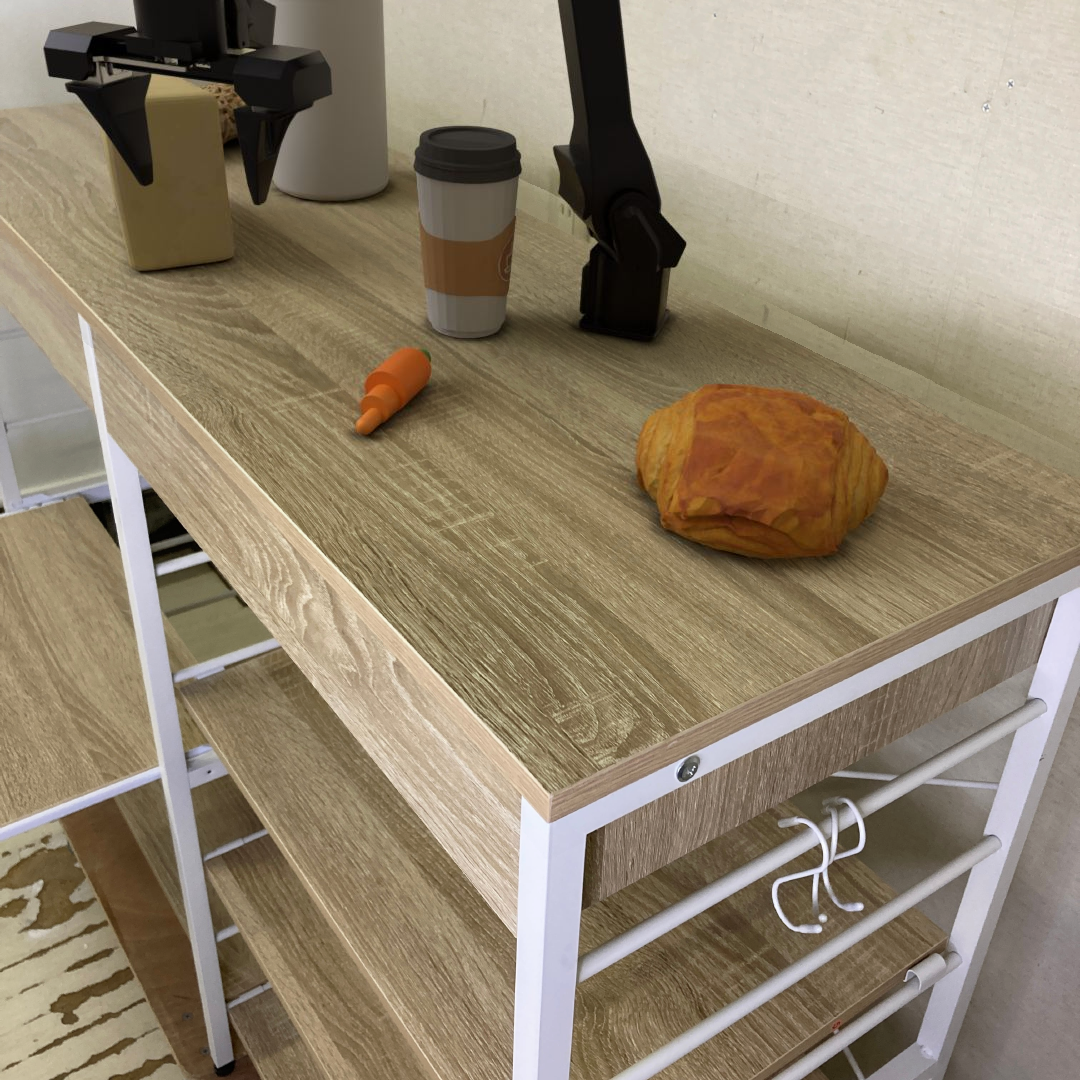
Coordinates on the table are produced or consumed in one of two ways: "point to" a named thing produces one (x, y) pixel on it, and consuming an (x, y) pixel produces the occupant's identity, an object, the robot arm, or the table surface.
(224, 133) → the sponge
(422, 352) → the carrot
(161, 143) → the cheese
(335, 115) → the cylinder vase
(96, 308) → the table surface
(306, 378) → the table surface
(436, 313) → the coffee cup
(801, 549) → the croissant
